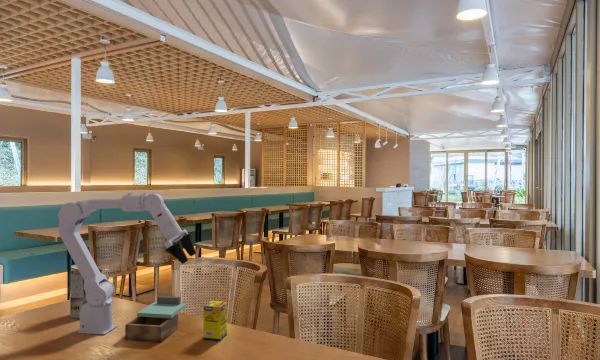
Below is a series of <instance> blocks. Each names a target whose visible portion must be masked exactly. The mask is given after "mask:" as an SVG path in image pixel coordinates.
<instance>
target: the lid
mask: <svg viewBox="0 0 600 360" xmlns="http://www.w3.org/2000/svg"><path fill="white" fill-rule="evenodd" d="M156 299H157V301H154V302H152V303H150V304H148V305H147V306H145V307H144V308H142V309H141V310H139V311H138V312H136V317H138V316H140V317H157V318H172V317H174V316H175V315H176V314H179V313H181V312H182V311H183V310H184V309H185V308H187V303H181V302H182V301H181V299H182V298H181V296H171V295H158V296H157V297H156Z"/></svg>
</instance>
